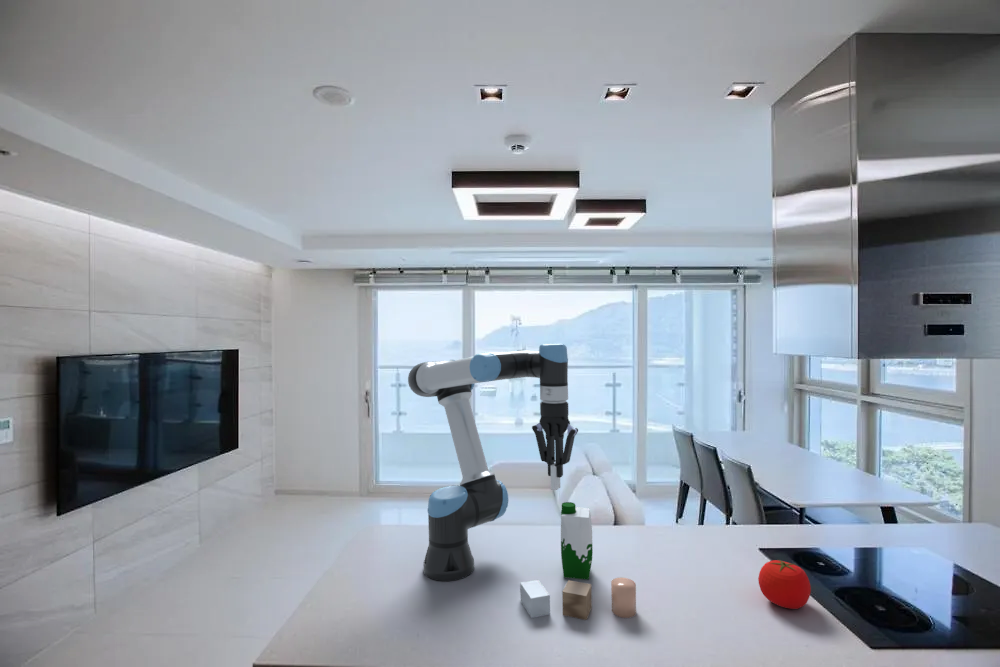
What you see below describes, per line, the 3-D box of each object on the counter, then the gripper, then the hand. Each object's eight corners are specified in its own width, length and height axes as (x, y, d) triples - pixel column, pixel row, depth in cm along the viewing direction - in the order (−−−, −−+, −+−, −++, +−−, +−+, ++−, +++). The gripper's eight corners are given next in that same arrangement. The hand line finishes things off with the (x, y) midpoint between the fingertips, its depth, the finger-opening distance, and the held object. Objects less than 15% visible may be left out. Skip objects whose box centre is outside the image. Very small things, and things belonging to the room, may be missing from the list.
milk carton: (562, 564, 151) (561, 498, 150) (593, 567, 149) (592, 500, 149) (560, 579, 142) (559, 509, 142) (592, 581, 140) (591, 511, 140)
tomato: (815, 602, 128) (815, 561, 128) (802, 622, 119) (802, 579, 119) (767, 586, 136) (767, 548, 136) (752, 605, 127) (752, 564, 127)
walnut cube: (562, 615, 124) (562, 591, 124) (568, 603, 130) (568, 580, 130) (586, 620, 122) (586, 596, 122) (591, 607, 128) (591, 584, 128)
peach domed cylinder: (608, 613, 125) (607, 585, 125) (616, 602, 130) (616, 575, 130) (631, 620, 122) (631, 592, 121) (639, 608, 127) (638, 581, 126)
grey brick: (520, 601, 131) (520, 582, 131) (538, 598, 133) (538, 579, 132) (531, 618, 123) (531, 598, 123) (550, 614, 125) (549, 594, 125)
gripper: (526, 401, 134) (527, 488, 135) (570, 404, 127) (572, 496, 128) (539, 397, 141) (540, 481, 141) (582, 400, 134) (583, 488, 134)
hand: (555, 488), depth 134 cm, fingers closed
